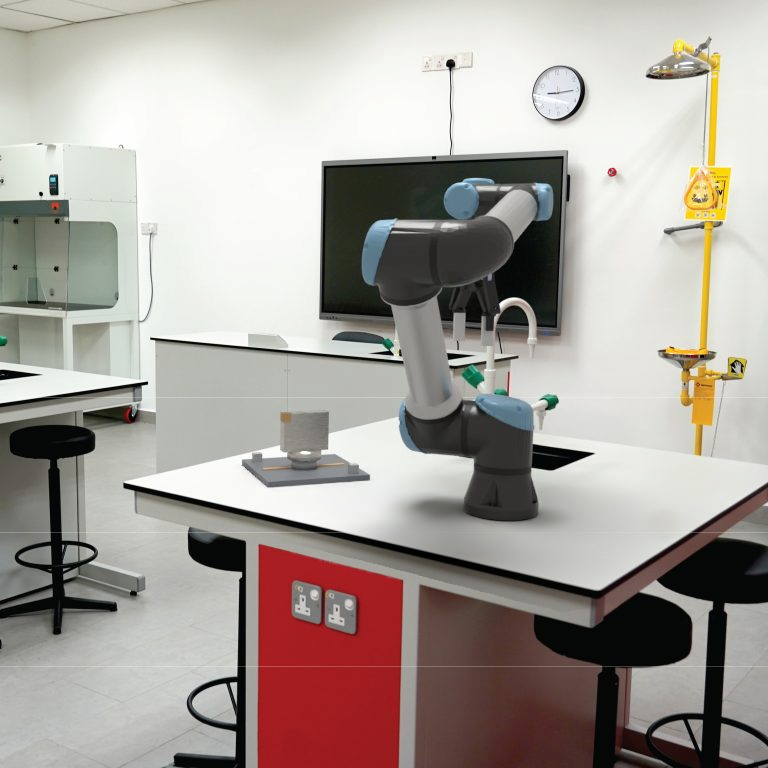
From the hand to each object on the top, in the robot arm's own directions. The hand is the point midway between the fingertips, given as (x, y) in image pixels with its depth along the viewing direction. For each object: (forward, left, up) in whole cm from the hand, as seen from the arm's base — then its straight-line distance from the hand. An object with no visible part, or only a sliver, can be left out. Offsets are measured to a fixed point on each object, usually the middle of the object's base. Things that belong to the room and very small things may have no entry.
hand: (472, 343), depth 206 cm
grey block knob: (+18, +34, -28) cm, 48 cm away
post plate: (+18, +34, -32) cm, 50 cm away
